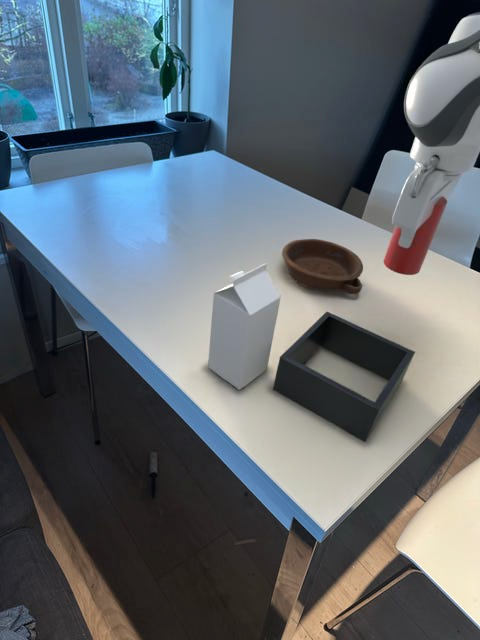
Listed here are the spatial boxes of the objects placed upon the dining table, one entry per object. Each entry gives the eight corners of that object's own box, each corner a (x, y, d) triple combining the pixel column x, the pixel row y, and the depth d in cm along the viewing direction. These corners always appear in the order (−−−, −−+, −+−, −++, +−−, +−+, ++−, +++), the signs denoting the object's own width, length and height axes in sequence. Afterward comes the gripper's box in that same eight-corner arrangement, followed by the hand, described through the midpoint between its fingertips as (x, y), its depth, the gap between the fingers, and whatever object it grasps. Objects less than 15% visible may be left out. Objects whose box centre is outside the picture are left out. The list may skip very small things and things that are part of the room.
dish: (330, 313, 90) (336, 292, 87) (257, 264, 103) (259, 245, 100) (380, 287, 100) (386, 268, 97) (307, 246, 112) (311, 228, 109)
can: (424, 265, 75) (451, 197, 68) (413, 279, 71) (441, 208, 64) (390, 253, 78) (413, 186, 71) (378, 265, 74) (401, 196, 67)
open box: (401, 382, 76) (415, 351, 72) (365, 442, 65) (379, 409, 61) (318, 341, 82) (326, 311, 78) (272, 389, 71) (279, 356, 67)
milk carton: (267, 370, 75) (285, 273, 64) (239, 391, 70) (253, 291, 59) (235, 349, 78) (248, 253, 67) (207, 368, 74) (215, 269, 62)
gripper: (448, 172, 55) (410, 269, 63) (482, 142, 69) (447, 225, 77) (399, 158, 57) (369, 253, 66) (441, 132, 71) (412, 213, 80)
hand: (412, 237), depth 72 cm, fingers closed on can, 6 cm apart
